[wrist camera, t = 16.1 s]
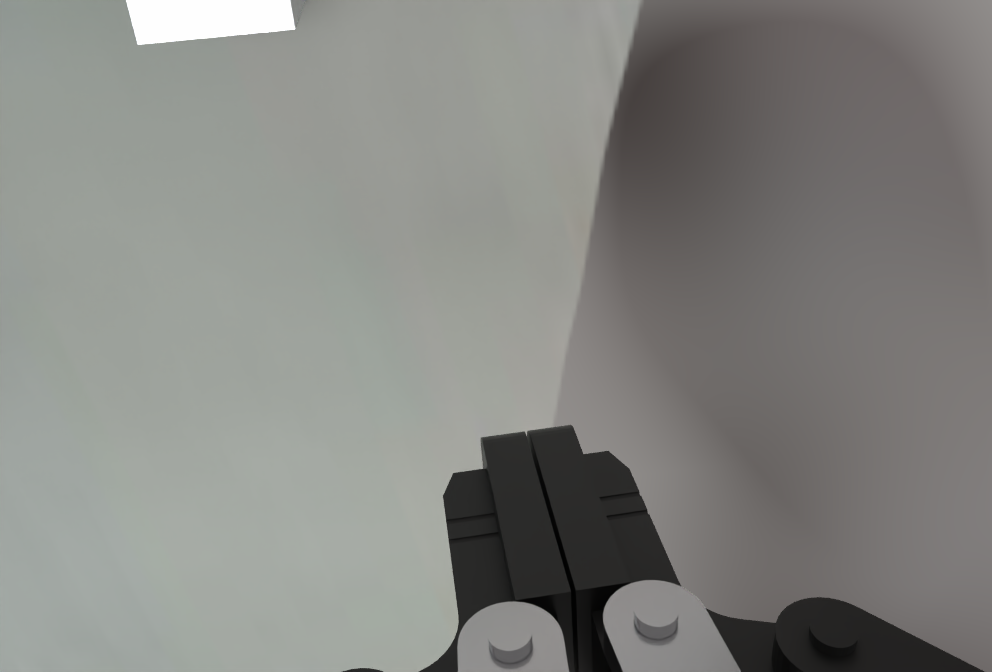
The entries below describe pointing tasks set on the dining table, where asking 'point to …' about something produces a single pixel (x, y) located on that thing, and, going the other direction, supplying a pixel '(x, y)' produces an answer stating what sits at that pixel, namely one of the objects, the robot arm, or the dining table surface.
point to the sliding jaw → (210, 18)
